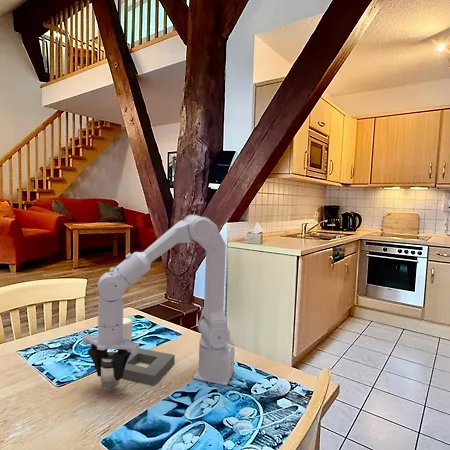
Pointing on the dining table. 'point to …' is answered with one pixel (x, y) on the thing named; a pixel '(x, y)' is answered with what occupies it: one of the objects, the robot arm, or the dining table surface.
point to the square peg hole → (154, 371)
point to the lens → (108, 371)
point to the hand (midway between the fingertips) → (110, 376)
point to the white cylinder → (127, 327)
